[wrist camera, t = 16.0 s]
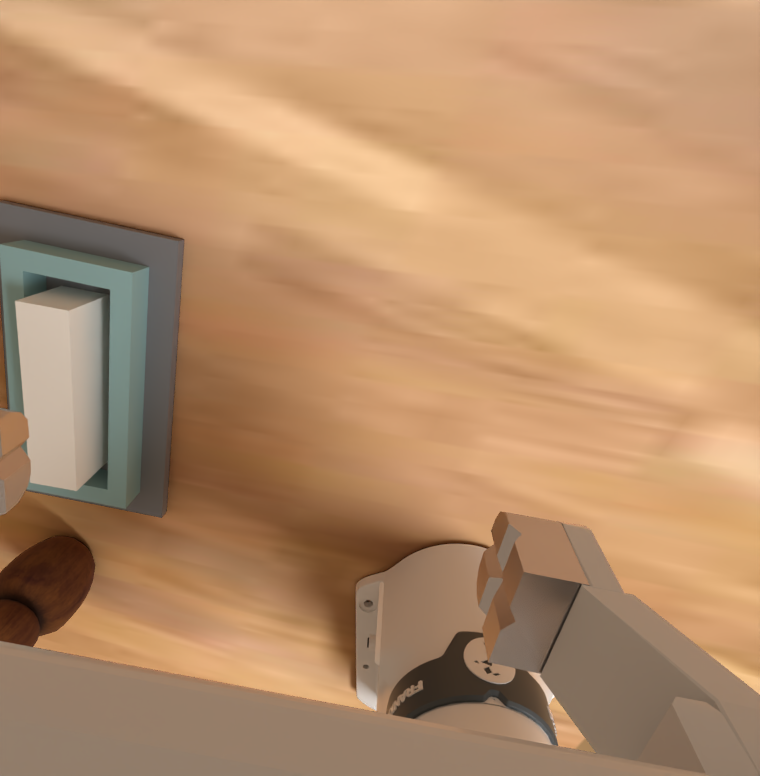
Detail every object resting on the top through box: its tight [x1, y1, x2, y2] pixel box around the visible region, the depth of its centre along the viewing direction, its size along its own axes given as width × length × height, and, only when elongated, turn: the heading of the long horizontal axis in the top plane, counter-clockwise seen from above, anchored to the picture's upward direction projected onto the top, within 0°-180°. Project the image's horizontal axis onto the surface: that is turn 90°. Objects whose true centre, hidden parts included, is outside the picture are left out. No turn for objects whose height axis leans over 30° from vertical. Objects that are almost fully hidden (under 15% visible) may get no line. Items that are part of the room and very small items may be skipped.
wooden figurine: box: [0, 536, 95, 647], centre depth 43 cm, size 7×6×15 cm
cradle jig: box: [0, 200, 184, 518], centre depth 41 cm, size 24×13×4 cm, turn 168°
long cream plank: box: [15, 286, 110, 491], centre depth 39 cm, size 14×4×5 cm, turn 170°
